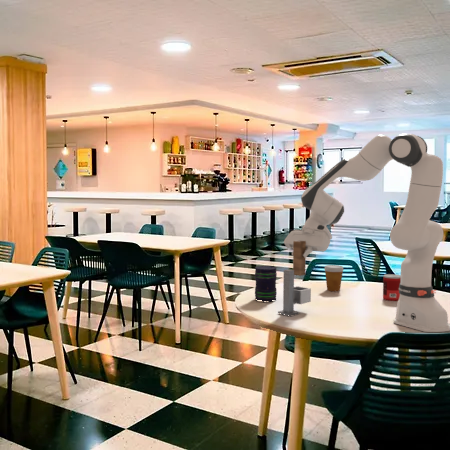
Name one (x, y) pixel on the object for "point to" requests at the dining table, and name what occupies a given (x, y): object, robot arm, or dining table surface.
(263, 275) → the rusty blue barrel
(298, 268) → the rail
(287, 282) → the bracket
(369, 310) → the dining table surface
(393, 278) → the canned food
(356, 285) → the dining table surface
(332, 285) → the disposable coffee cup
